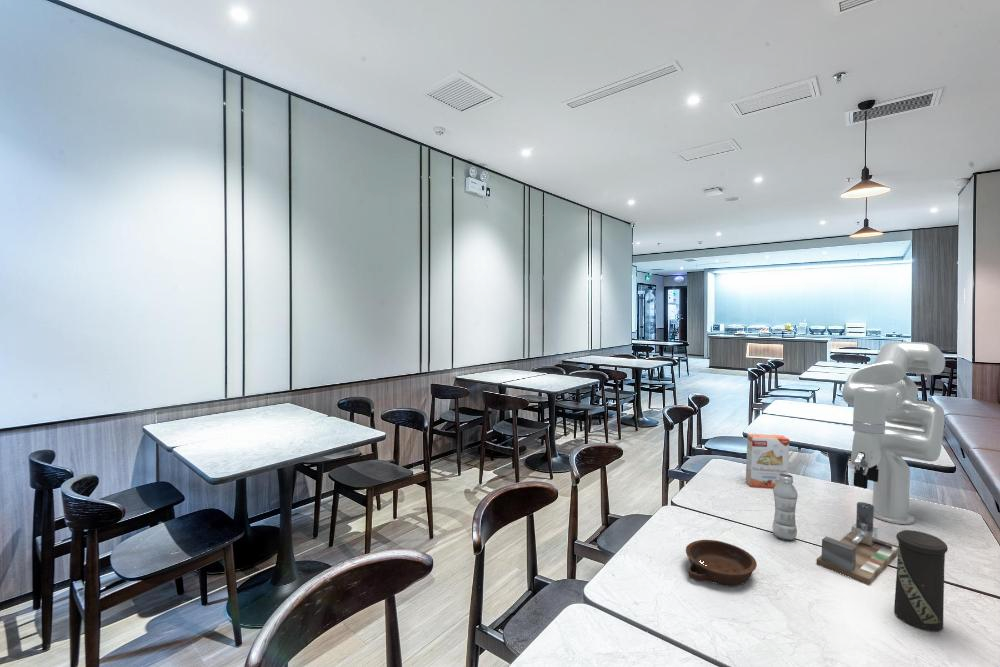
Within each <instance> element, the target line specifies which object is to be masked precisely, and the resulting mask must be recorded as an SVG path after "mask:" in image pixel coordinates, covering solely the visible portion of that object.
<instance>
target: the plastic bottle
mask: <svg viewBox="0 0 1000 667" xmlns="http://www.w3.org/2000/svg"><path fill="white" fill-rule="evenodd" d="M779 481H780V482H779V483H778V484H777V485H776V486H775V487H774V488H772V490H773V498H774V517H773V518H774V519H773V522H772V525H771V527H772V532H773V534H774V535H775V537H777V538H779V539H782V540H786V541H792V540H795V538H797V535H798V530H797V529H798V528H797V524H796V523H797V522H796V507H797V503H798V502H797V501H798V496H799V494H798V491H797V489H796V487H795V485H794V484H793V483H794V476H793V475H791V474H779Z"/></svg>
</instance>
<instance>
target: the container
mask: <svg viewBox="0 0 1000 667" xmlns="http://www.w3.org/2000/svg"><path fill="white" fill-rule="evenodd" d="M895 536H896V540H897V541H898V542H897V543H898V544H897V546H898V555H897V559H896V560H897V562H896V563H897V564H896V565H897V566H896V575H895V576H896V578H895V591H894V592H895V593H894V602H893V604H894V606H893V609H894V610H893V611H894V614H895V616H896V617H897V618H899V619H900V621H902V622H904V623H906V624H907V625H908V624H909V625H910V626H911V627H915V628H918V629H921V630H925V631H929V632H930V631H931V632H938V631H941V630H942V629H944V602H945V601H944V600H945V599H944V598H945V597H944V595H945V594H944V593H945V562H946V561H945V558H946V555H945V554H946V553H947V552H948V549H949V547H948V545H947V544H946V543H945V542H944V541H943V540H942V539H941V538H939V537H937V536H935V535H932V534H929V533H927V532H922V531H918V530H913V529H911V530H909V529H905V530H901V531H899V532H897V533H896V535H895Z"/></svg>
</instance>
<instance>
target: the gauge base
mask: <svg viewBox="0 0 1000 667" xmlns="http://www.w3.org/2000/svg"><path fill="white" fill-rule="evenodd" d="M877 542H880V543H883V544H886V545H890V546H892V549H889V548H886V547H883V546H880V545H877V544H873V545H872V546H870V545H867V544H864V543H861V542H859V543H858V544H854V543H853V542H852V539H851V531H850V532H849V533H847V534H846V535H844V537H842V538H841V539H839V540H838V539H835V538H833V537H829V536H828V535H827V536H824V537H823V538H822V539H821V555H819V556H818V557H817V558H816V560H815V562H816V565H817V564H818V566H820V565H821V566H820V567H822V566H823V568H825V569H828V570H830V571H832V570H833V572H835V571H836V572H835V573H837V572H838V573H837V574H840V573H841V575H842V574H844V575H843V576H845V575H846V576H845V577H847V576H849V577H848V578H850V577H851V578H850V579H852V578H853V580H855V581H857V580H858V582H859V583H863V584H865V585H868V586H870V585H871V584H872V583H873V581H875V580H876V579H877V577H879V576H880V574H882V572H883V571H884V570H885V569H886V568H887V567H888V566H889V565H890V564H891V563H892V562H893V560H894V559H895V558H897V557H898V545H896V544H894V543H893V544H892V543H890V542H887V541H884V540H881V539H878V538H877Z"/></svg>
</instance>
